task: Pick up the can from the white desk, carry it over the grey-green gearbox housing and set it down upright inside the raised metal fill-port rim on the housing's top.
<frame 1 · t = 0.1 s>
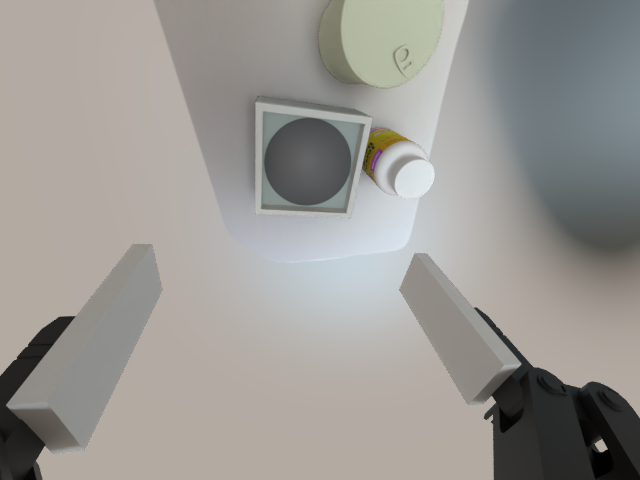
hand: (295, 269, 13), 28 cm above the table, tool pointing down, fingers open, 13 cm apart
gearbox: (303, 152, 38), on the table
supplement bottle: (375, 149, 39), on the table
can: (355, 39, 31), on the table
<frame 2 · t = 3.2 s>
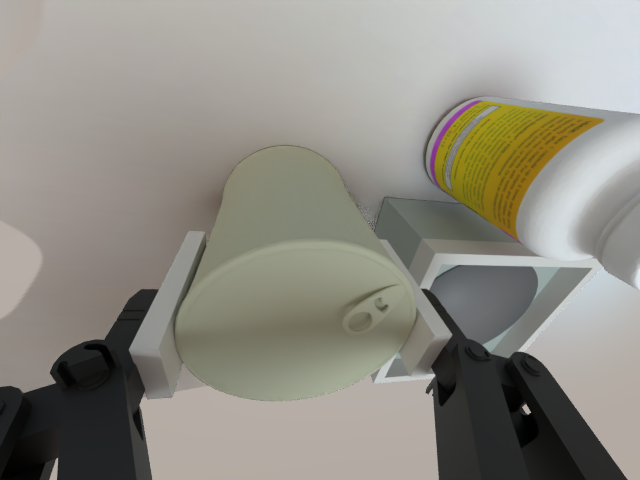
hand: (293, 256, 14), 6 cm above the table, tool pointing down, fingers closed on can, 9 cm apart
gearbox: (427, 264, 25), on the table
supplement bottle: (463, 145, 19), on the table
can: (287, 207, 20), on the table, touching gripper
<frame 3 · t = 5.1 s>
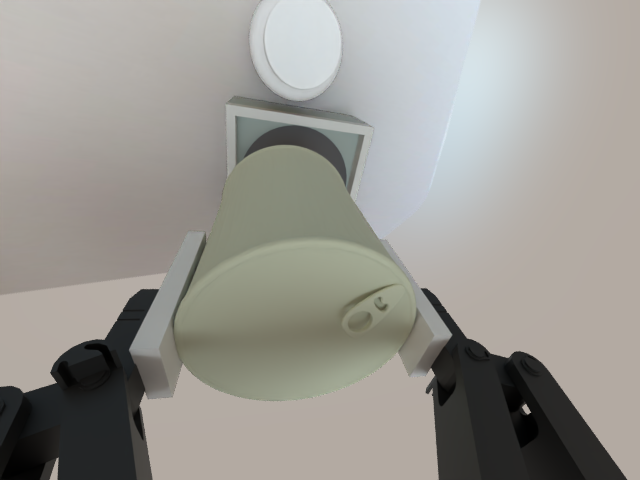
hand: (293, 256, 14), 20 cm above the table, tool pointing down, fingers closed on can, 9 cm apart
gearbox: (290, 164, 32), on the table
supplement bottle: (287, 54, 26), on the table
can: (286, 206, 20), point 14 cm above the table, touching gripper
when the fingers open (13 cm above the table, at t = 7.3 s): can stays where it is, resting on gearbox.
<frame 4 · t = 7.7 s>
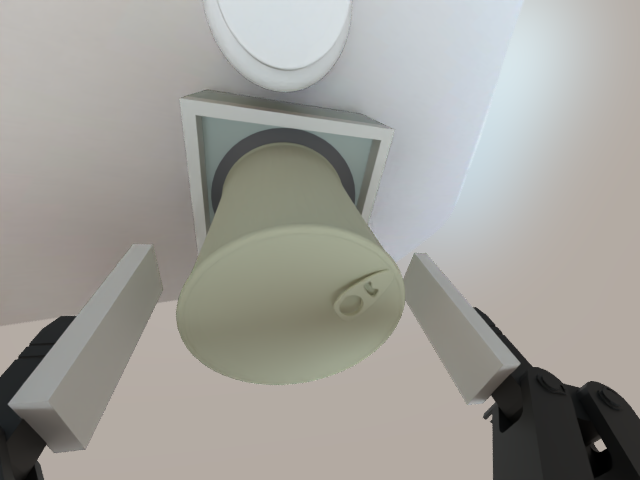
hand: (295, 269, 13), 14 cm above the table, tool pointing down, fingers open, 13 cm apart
gearbox: (283, 177, 25), on the table
supplement bottle: (275, 32, 19), on the table
can: (285, 202, 20), point 6 cm above the table, touching gearbox
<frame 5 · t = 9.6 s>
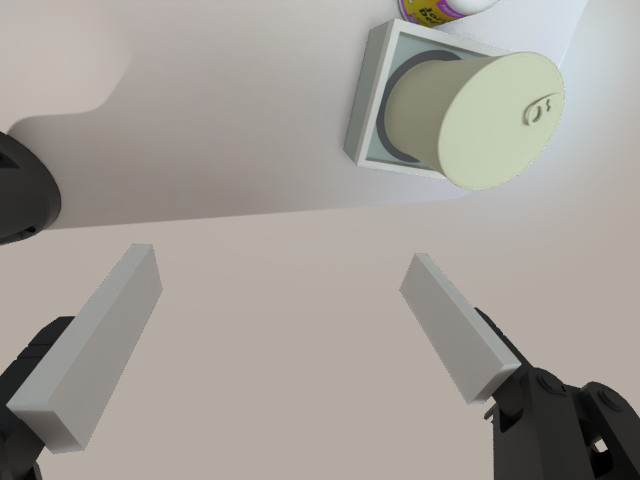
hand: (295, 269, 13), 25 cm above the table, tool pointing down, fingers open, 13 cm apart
gearbox: (402, 106, 33), on the table
can: (423, 111, 28), point 6 cm above the table, touching gearbox
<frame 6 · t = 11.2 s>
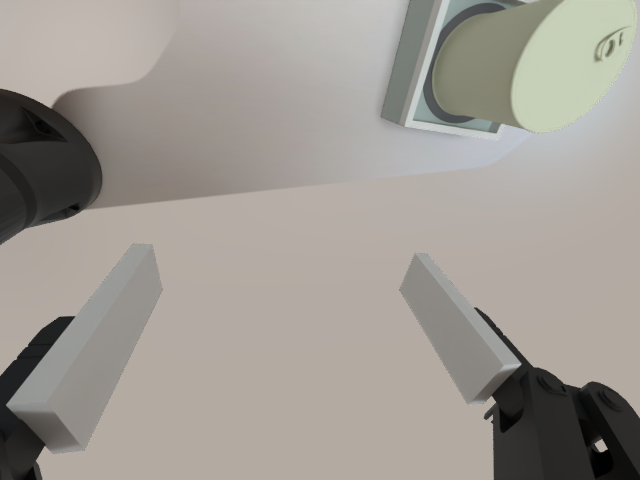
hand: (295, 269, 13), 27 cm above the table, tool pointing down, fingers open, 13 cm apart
gearbox: (440, 69, 34), on the table
can: (469, 68, 29), point 6 cm above the table, touching gearbox
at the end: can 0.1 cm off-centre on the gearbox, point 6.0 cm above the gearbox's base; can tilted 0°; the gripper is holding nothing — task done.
